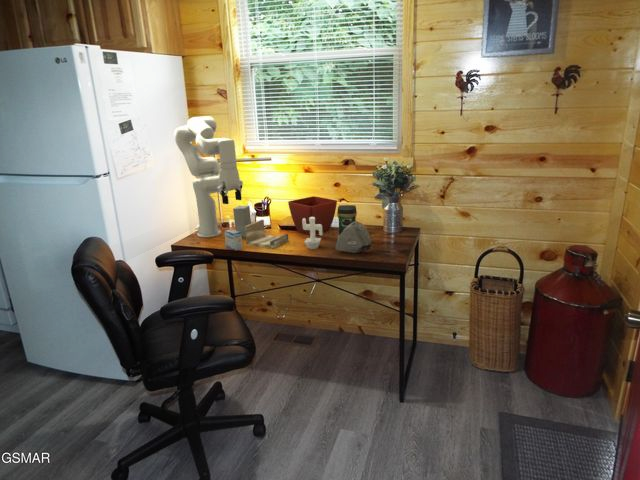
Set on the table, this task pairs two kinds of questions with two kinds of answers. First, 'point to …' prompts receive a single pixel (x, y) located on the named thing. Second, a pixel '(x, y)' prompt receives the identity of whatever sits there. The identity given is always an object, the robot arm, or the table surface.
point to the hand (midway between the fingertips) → (232, 201)
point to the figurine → (312, 233)
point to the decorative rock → (354, 238)
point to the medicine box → (233, 239)
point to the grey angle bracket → (262, 236)
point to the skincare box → (242, 218)
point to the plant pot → (313, 212)
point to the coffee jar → (346, 216)
